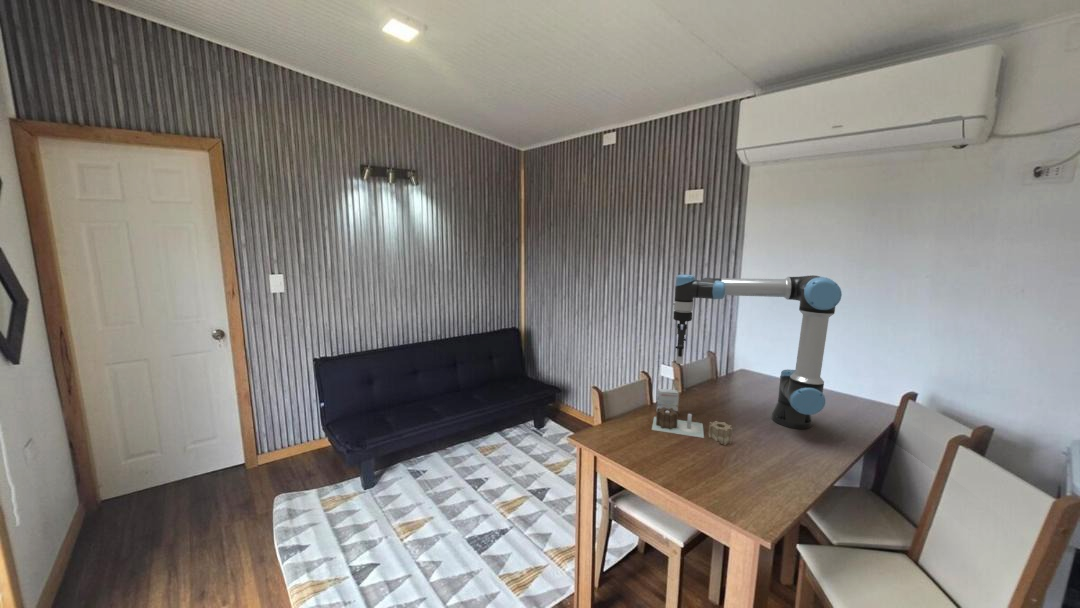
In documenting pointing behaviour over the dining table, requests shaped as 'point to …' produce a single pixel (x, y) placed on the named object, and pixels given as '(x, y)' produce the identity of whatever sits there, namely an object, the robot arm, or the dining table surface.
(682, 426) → the gear board
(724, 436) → the gear
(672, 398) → the ink box
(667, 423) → the gear
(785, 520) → the dining table surface
